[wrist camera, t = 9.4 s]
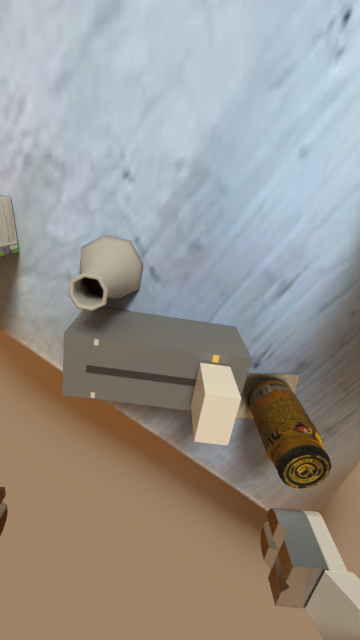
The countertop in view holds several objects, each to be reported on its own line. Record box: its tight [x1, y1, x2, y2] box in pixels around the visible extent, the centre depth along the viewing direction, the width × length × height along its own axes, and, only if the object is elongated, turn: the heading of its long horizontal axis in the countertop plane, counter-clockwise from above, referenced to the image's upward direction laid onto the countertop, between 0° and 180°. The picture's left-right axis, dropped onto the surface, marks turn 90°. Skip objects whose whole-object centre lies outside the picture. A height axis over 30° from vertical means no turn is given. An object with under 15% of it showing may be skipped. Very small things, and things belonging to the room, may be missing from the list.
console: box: [63, 307, 252, 411], centre depth 33 cm, size 18×7×8 cm, turn 81°
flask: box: [69, 235, 143, 311], centre depth 29 cm, size 7×7×10 cm
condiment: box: [236, 374, 331, 488], centre depth 35 cm, size 7×8×12 cm
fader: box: [191, 363, 241, 445], centre depth 27 cm, size 3×5×5 cm, turn 171°
